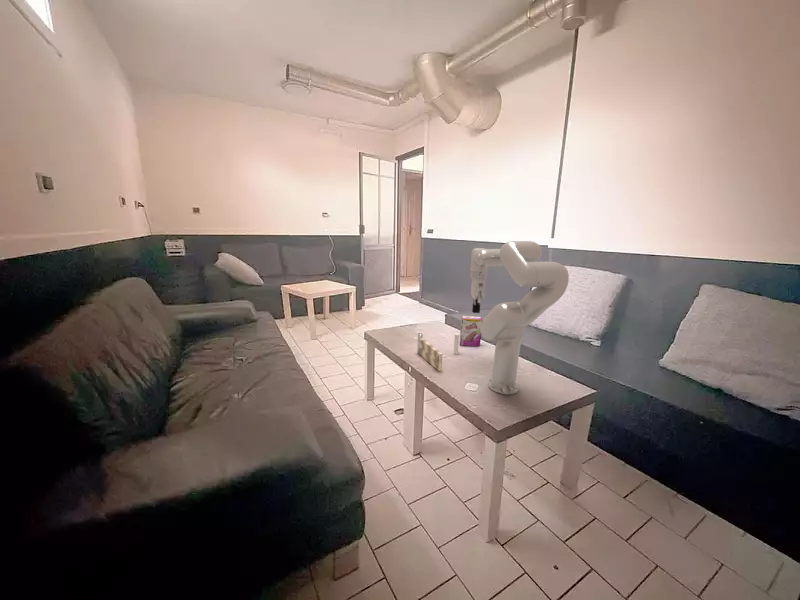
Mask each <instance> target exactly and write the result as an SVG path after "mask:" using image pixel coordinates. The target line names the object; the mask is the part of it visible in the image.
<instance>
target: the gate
mask: <svg viewBox="0 0 800 600" xmlns="http://www.w3.org/2000/svg"><path fill="white" fill-rule="evenodd" d="M419 356H421V357H422V358H423V359H425V361H427V362H428V363H429V364H430V365H431V366H432V367H434V368H435V369H436V370H437V371H438V372H441V371H442V370H443V369H442V367H443V353H442V352H441V351H440V350H439V349H437V347H435V346H433V345H432V344H431V343H429V342H428V341H427V340H425V339H424V338H422V339H420V355H419Z"/></svg>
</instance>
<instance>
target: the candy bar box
mask: <svg viewBox="0 0 800 600" xmlns="http://www.w3.org/2000/svg"><path fill="white" fill-rule="evenodd" d="M483 320H484V318H483V317H482V316H470V315H461V321H460V332H459V346H461V347H481V340H482V335H481V331H480V327H481V323H482V321H483Z"/></svg>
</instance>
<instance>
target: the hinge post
mask: <svg viewBox="0 0 800 600" xmlns="http://www.w3.org/2000/svg"><path fill="white" fill-rule="evenodd" d="M423 337H424V336H423V333H422V332H419V333H417V350H416V351H417V353H416V354H417V355H419V356H421V355H420V339H423Z"/></svg>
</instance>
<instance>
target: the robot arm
mask: <svg viewBox="0 0 800 600" xmlns="http://www.w3.org/2000/svg"><path fill="white" fill-rule="evenodd" d="M500 247H501V248H483V247H474V248H473V249H472V250H471V257H470V258H471V260H470V273H469V274H470V276H469V277H470V279H471V285H470V286H471V288H470V294H471V295H470V296H471V297H472V309H471V310H472V313H473V314H480V313H481V311H480V310H481V300H482V301H485V300H486V279H487V277H488V268H489V267H504V268H505V270H506V271H507V272H508V274H509V275H510V277H511V279H512V280H513V281H514V283H515V284H517V285H518V286H519V287H521V288H525V289H527V288H528V289H529V288H531V290H530V291H529V292H527V293H526V294H525V295H524V296H523V297H522V298H521V299H519V300H517V301H516V300H515V301H507V302H500V303H497V304H496V305H495V306H494V307H492V309H491V310H490V311H489V312H488V313H487V314H486V316H485V317H484V318H483V321H482V323H481V327H480V331H481V337H482V338H483V339H484V340H486V341H489V342H495V341H496V345H495V347H494V348H495V349H494V355H493V356H494V357H493V366H492V376H491V378H489V380H488V381H487V386H488V388H489V389H490V390H491V391H493V392H495V393H497V394H501V395H515V394H517V393H518V392H519V391H520V386H519V384H518V383H517V374H518V366H519V357H520V351H521V345H522V340H523V338H524V336H525V335H524V334H525V332H526V326H529V325H531V324H532V323H534V322H535V321H536V320H537V319H538V318H539V317H540V316H541V315H542V314H544V313H545V312H546V311H547V310H548V309H549V308H550V307H552V306H553V305H555V303H556V302H558V301H559V300H560V299H561V298H562V297H563V296H564V294H565V292H566V291H567V289H568V284H569V279H570V277H569V270H568V269H567V267H566V266H565V265H563V264H561V263H559V262H557V261H539V260H540V259H541V258H542V255H543V250H542V246H541V245H540V244H538V243H537V242H535V241H532V240H517V241H515V240H512V241H510V240H509V241H507V242H505V243H504V244H503V245H502V246H500ZM532 288H533V289H532Z"/></svg>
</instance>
